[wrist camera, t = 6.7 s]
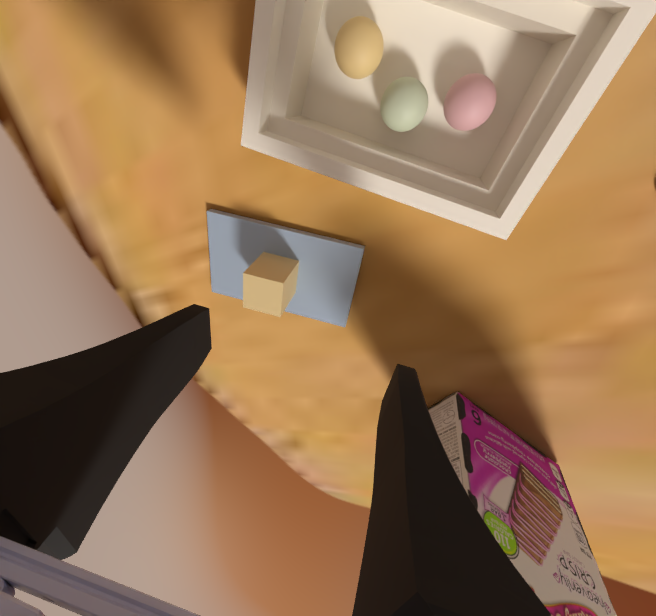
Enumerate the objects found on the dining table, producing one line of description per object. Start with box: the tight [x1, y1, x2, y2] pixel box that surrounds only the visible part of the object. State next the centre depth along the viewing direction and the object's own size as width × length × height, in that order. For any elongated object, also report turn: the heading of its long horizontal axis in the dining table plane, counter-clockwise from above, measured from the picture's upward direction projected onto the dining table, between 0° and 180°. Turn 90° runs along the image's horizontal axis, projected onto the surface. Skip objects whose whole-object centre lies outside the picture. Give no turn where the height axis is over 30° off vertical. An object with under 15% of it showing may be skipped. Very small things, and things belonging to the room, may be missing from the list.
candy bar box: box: [428, 392, 617, 616], centre depth 19 cm, size 11×5×16 cm, turn 55°
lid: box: [207, 209, 365, 327], centre depth 20 cm, size 10×6×4 cm, turn 81°
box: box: [241, 0, 656, 240], centre depth 13 cm, size 12×8×4 cm, turn 74°
